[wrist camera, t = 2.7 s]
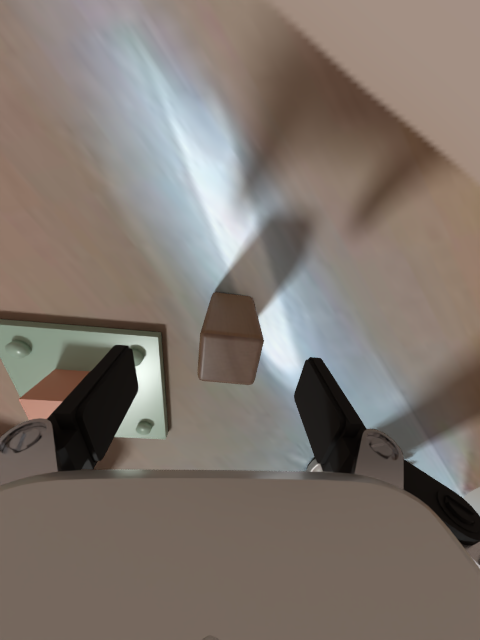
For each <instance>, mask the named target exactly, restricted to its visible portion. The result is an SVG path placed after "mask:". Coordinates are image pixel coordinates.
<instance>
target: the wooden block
mask: <svg viewBox="0 0 480 640" xmlns="http://www.w3.org/2000/svg"><path fill="white" fill-rule="evenodd" d="M263 342H264V340H263V336H262V332H261V328H260V324H259V320H258V316H257V312H256V308H255V305H254V301H253V298H252V297H249V296H242V295H234V294H226V293H218V292H215V293H213V295H212V297H211V300H210V303H209V307H208V310H207V313H206V317H205V320H204V323H203V326H202V330H201V333H200V345H199V360H198V377H199V379H200V380H202V381H210V382H222V383H233V384H244V385H251V384H253V382H254V380H255V377H256V372H257V368H258V364H259V360H260V355H261V351H262V347H263Z"/></svg>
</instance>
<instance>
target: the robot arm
mask: <svg viewBox="0 0 480 640" xmlns="http://www.w3.org/2000/svg"><path fill="white" fill-rule="evenodd" d="M137 392H138V380H137V374H136V368H135V362H134V356H133V350H132V349H130V348H129V346H127V345H114V346H113V347H112V349H111V350H110V351H109V352H108V353H107V354H106V355H105V356H104V357H103V359H102V360H101V361H100V362H99V363H98V364H97V365H96V366H95V367H94V368H93V370H92V371H90V372H89V373H88V374H87V375H86V376H85V377H84V378H83V380H82V381H81V382H80V383H79V384H78V385H77V386H76V387H75V388H74V389H73V391H72V392H71V393H70V394H69V395H68V396H67V397H66V398H65V399H64V400H63V402H62V403H61V404H60V405H59V406H58V407H57V408H56V409H55V410H54V411H53V413H52V414H51V415H50V416H49V417H48V418H47V419H43V418H38V419H32V420H29V421H26V422H23V423H21V424H19V425H17V426H15V427H13V428H12V429H10V430H9V431H7V432H6V433H5V434H4V435H2V436H1V437H0V640H480V516H479V515H478V514H477V513H476V511H475V510H474V509H473V508H472V506H470V504H468V503H467V502H466V501H465V500H464V499H463V498H462V497H460V496H459V495H458V494H456V493H455V492H454V491H452V490H450V489H449V488H447V487H446V486H444V485H443V484H441V483H440V482H438V481H437V480H435V479H433V478H432V477H430V476H429V475H427V474H426V473H424V472H423V471H421V470H420V469H418V468H417V467H415V466H413V465H412V464H410V463H409V462H407V461H406V460H404V458H403V453H402V451H401V449H400V447H399V446H398V445H397V444H396V442H395V441H394V440H393V439H392V438H390V437H389V436H388V435H386V434H385V433H383V432H381V431H379V430H375V429H366V427H365V426H364V424H363V422H362V421H361V419H360V418H359V416H358V415H357V413H356V412H355V410H354V408H353V407H352V405H351V404H350V402H349V401H348V399H347V398H346V396H345V394H344V393H343V391H342V390H341V388H340V387H339V385H338V384H337V382H336V381H335V379H334V377H333V376H332V374H331V373H330V371H329V370H328V368H327V367H326V365H325V363H324V362H323V360H322V359H321V358H312V357H310V358H309V359H308V360H306V361H305V364H304V367H303V370H302V373H301V376H300V379H299V382H298V385H297V388H296V391H295V394H294V399H295V402H296V405H297V408H298V411H299V414H300V417H301V419H302V422H303V425H304V428H305V431H306V434H307V436H308V439H309V442H310V445H311V448H312V450H313V453H314V456H315V459H314V460H313V461H312V462H311V463H310V464H309V466H308V468H307V470H306V471H244V470H81V469H94V467H95V465H96V463H97V461H100V460H102V459H103V457H104V455H105V453H106V452H107V450H108V448H109V446H110V444H111V442H112V440H113V438H114V436H115V434H116V433H117V431H118V429H119V427H120V425H121V423H122V421H123V419H124V417H125V415H126V414H127V412H128V410H129V408H130V406H131V404H132V402H133V400H134V398H135V397H136V395H137Z"/></svg>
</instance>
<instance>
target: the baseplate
mask: <svg viewBox="0 0 480 640" xmlns="http://www.w3.org/2000/svg"><path fill="white" fill-rule="evenodd" d="M114 345H127V346H129V348H130V349H132V350H133V356H134V362H135V368H136V374H137V380H138V392H137V395H136V397H135V398H134V400H133V402H132V404H131V406H130V408H129V410H128V412H127V414H126V415H125V417H124V419H123V421H122V423H121V425H120V427H119V429H118V431H117V433H116V434H115V436H114V437H126V438H149V439H166V437H167V434H168V423H167V409H166V394H165V380H164V365H163V351H162V336H161V332H151V331H139V330H127V329H115V328H102V327H90V326H78V325H66V324H54V323H41V322H29V321H17V320H5V319H0V358H1V360H2V362H3V364H4V366H5V368H6V370H7V372H8V374H9V376H10V378H11V380H12V382H13V384H14V386H15V388H16V390H17V392H18V394H19V395H20V397H22V396H23V395H24V394H25V393H26V392H28V391H29V390H30V389H31V388H33V387H34V386H35V385H36V384H38V383H39V382H40V381H41V380H42V379H44V378H45V377H46V376H47V375H49V374H50V373H51V372H52V371H53V370H55V369H62V370H77V371H92V370H93V368H94V367H95V366H96V365H97V364H98V363H99V362H100V361H101V360H102V359H103V357H104V356H105V355H106V354H107V353H108V352H109V351H110V350H111V349H112V347H113V346H114Z"/></svg>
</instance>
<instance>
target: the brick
mask: <svg viewBox="0 0 480 640" xmlns="http://www.w3.org/2000/svg"><path fill="white" fill-rule="evenodd" d="M89 372H90V371H77V370H62V369H55V370H53V371H52V372H51V373H50V374H49V375H47V376H46V377H45V378H44V379H42V380H41V381H40V382H39V383H38V384H36V385H35V386H34V387H33V388H31V389H30V390H29V391H28V392H26V393H25V394H24V395H23V396H22V397H20V398H19V401H20V403H21V405H22V407H23V409H24V411H25V413H26V414H27V416H28V418H29V420H32V419H38V418H43V419H47V418H48V417H49V416H50V415H51V414H52V413H53V411H54V410H55V409H56V408H57V407H58V406H59V405H60V404H61V403H62V402H63V400H64V399H65V398H66V397H67V396H68V395H69V394H70V393H71V392H72V391H73V389H74V388H75V387H76V386H77V385H78V384H79V383H80V382H81V381H82V380H83V378H84V377H85V376H86V375H87V374H88V373H89Z"/></svg>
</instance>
